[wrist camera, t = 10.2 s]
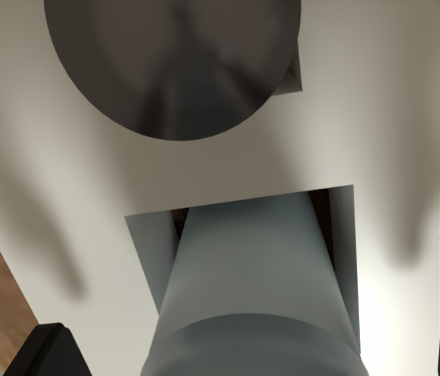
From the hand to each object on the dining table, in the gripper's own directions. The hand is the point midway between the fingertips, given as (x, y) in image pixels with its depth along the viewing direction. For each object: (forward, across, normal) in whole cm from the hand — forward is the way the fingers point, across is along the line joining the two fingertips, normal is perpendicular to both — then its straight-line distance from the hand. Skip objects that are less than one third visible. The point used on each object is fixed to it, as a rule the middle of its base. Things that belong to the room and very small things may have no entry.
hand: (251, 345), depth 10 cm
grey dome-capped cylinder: (+5, 0, -8) cm, 9 cm away
